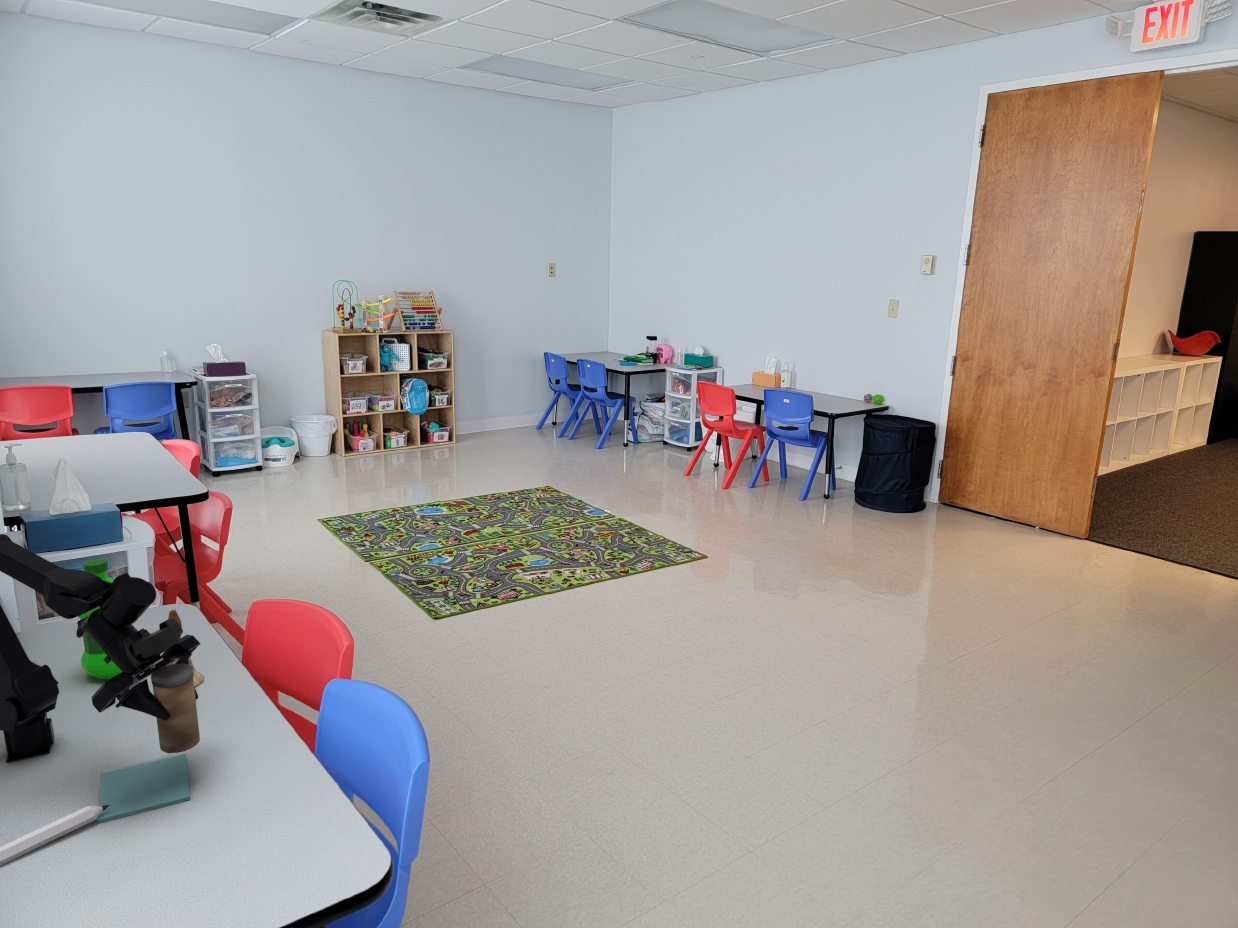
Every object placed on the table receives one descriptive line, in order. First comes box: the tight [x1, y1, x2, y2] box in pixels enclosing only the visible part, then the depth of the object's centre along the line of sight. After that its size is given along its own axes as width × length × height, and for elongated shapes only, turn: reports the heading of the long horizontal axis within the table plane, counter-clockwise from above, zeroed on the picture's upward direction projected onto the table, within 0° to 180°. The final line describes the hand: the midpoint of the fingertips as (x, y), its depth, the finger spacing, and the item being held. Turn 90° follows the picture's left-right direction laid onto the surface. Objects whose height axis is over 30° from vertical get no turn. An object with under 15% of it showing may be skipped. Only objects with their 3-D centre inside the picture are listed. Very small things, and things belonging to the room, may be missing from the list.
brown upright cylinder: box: [150, 664, 201, 754], centre depth 144 cm, size 6×6×13 cm
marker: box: [0, 804, 111, 866], centre depth 132 cm, size 3×2×16 cm
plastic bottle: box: [77, 558, 122, 680], centre depth 179 cm, size 10×10×25 cm
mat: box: [97, 753, 191, 824], centre depth 144 cm, size 13×14×1 cm
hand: (182, 708), depth 143 cm, fingers closed on brown upright cylinder, 6 cm apart
